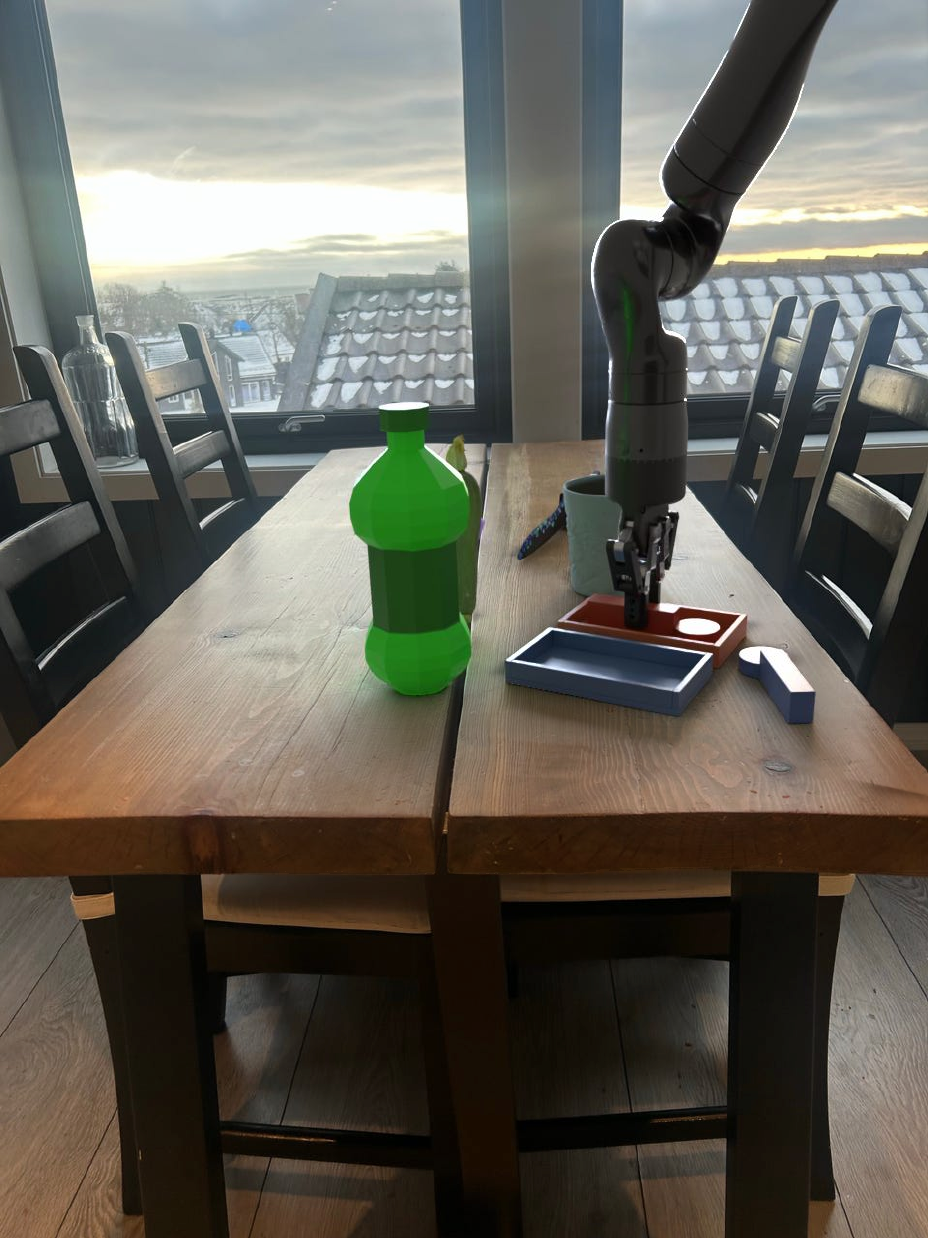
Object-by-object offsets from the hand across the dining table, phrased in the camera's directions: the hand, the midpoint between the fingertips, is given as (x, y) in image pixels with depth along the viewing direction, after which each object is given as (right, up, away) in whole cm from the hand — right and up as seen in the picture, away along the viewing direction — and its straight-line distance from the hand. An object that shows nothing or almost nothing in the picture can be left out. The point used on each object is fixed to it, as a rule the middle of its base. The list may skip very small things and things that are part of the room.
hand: (642, 621), depth 99 cm
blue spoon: (+9, -6, -12) cm, 17 cm away
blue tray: (-5, -5, -9) cm, 11 cm away
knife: (-5, +12, +38) cm, 40 cm away
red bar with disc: (+1, -1, 0) cm, 1 cm away
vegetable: (-17, 0, +6) cm, 19 cm away
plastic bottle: (-22, -6, -8) cm, 24 cm away
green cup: (-1, +4, +15) cm, 16 cm away
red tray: (+1, -2, 0) cm, 2 cm away
